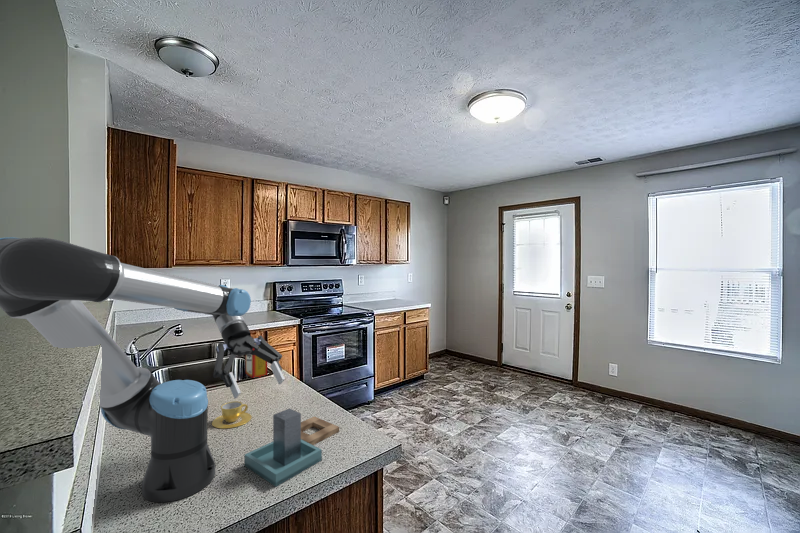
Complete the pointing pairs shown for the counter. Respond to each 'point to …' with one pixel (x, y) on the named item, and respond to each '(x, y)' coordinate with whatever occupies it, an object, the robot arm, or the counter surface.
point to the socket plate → (325, 431)
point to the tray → (276, 472)
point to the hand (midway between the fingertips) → (261, 388)
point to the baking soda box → (255, 366)
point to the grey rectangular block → (286, 436)
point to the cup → (232, 415)
